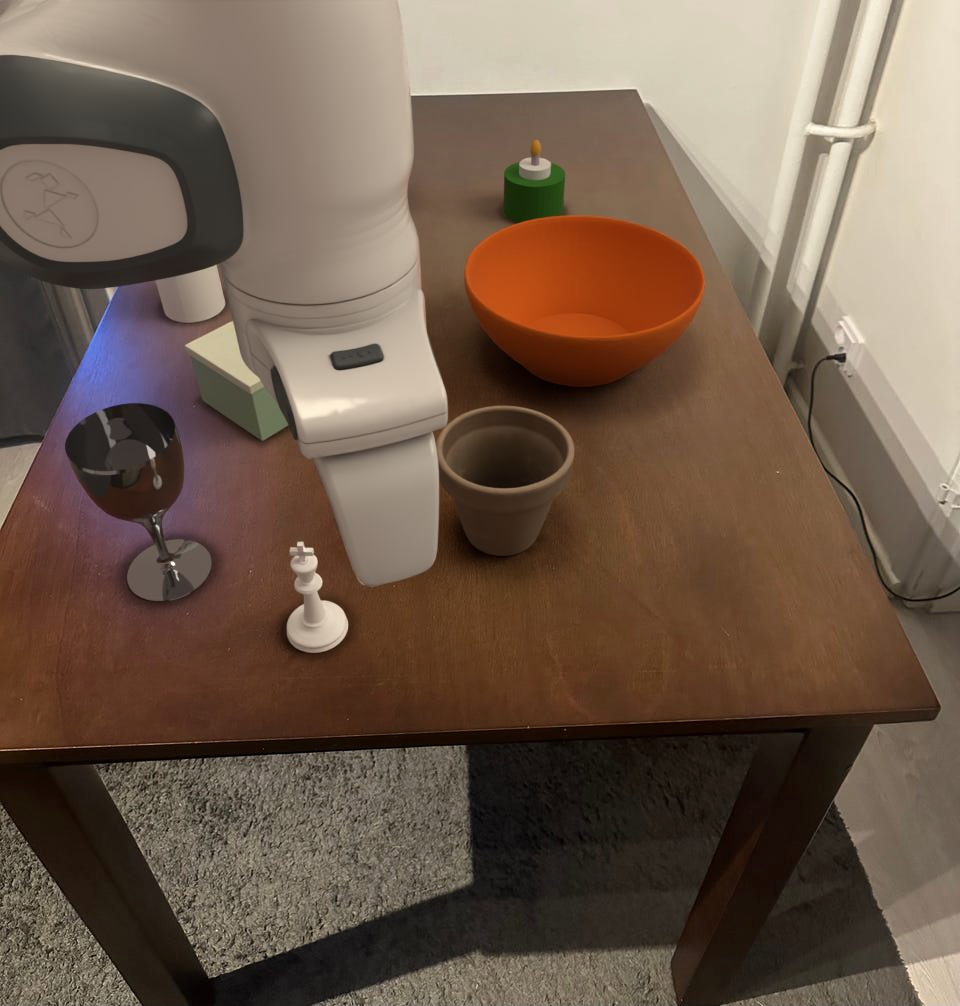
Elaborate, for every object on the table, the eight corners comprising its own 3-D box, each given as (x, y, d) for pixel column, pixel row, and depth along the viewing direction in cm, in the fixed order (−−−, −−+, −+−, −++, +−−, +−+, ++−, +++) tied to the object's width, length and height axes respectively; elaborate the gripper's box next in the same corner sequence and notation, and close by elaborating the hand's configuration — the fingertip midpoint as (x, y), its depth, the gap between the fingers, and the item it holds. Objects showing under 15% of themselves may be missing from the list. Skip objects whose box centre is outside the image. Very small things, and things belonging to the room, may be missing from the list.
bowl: (472, 288, 110) (471, 212, 103) (677, 294, 109) (691, 217, 102) (457, 416, 92) (455, 333, 85) (703, 424, 91) (721, 341, 84)
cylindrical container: (217, 322, 104) (165, 103, 87) (157, 322, 104) (92, 102, 87) (230, 290, 109) (183, 77, 92) (172, 290, 110) (114, 77, 92)
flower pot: (511, 470, 86) (513, 385, 79) (592, 536, 79) (603, 451, 72) (413, 523, 81) (407, 438, 74) (492, 599, 74) (493, 513, 67)
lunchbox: (265, 445, 88) (252, 388, 84) (196, 398, 94) (181, 343, 89) (363, 384, 96) (357, 329, 91) (294, 344, 101) (285, 290, 96)
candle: (496, 221, 122) (497, 148, 116) (512, 195, 128) (513, 124, 121) (555, 229, 121) (559, 156, 114) (568, 202, 126) (573, 131, 119)
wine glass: (185, 523, 81) (142, 389, 70) (234, 569, 77) (196, 436, 66) (104, 569, 77) (45, 435, 66) (152, 621, 73) (96, 487, 62)
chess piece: (293, 604, 74) (273, 519, 67) (352, 605, 74) (338, 520, 67) (281, 652, 70) (259, 568, 63) (343, 654, 70) (328, 570, 63)
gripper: (228, 222, 48) (270, 422, 58) (307, 457, 34) (345, 668, 44) (342, 204, 50) (365, 401, 59) (462, 422, 36) (466, 633, 45)
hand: (357, 517), depth 51 cm, fingers open, 8 cm apart
